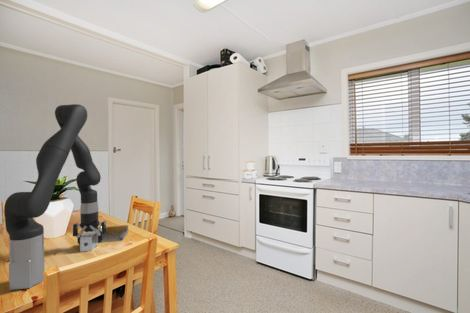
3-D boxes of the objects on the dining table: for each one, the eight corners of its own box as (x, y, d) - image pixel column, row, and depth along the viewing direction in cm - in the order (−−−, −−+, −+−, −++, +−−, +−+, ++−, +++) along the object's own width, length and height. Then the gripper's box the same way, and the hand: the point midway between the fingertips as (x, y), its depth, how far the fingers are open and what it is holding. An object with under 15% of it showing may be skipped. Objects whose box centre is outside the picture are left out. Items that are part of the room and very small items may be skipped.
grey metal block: (91, 251, 109) (91, 236, 109) (80, 252, 108) (79, 237, 108) (99, 242, 119) (99, 229, 119) (88, 243, 118) (88, 230, 118)
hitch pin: (103, 234, 132) (103, 229, 132) (98, 234, 131) (98, 230, 131) (103, 230, 138) (103, 226, 138) (97, 231, 136) (97, 226, 136)
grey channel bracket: (122, 240, 122) (121, 233, 122) (95, 243, 119) (95, 235, 119) (128, 231, 136) (128, 224, 136) (104, 233, 133) (104, 226, 133)
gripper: (69, 214, 108) (70, 247, 109) (102, 212, 111) (103, 244, 112) (76, 210, 116) (77, 241, 116) (107, 208, 119) (108, 239, 119)
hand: (90, 243), depth 114 cm, fingers open, 8 cm apart
